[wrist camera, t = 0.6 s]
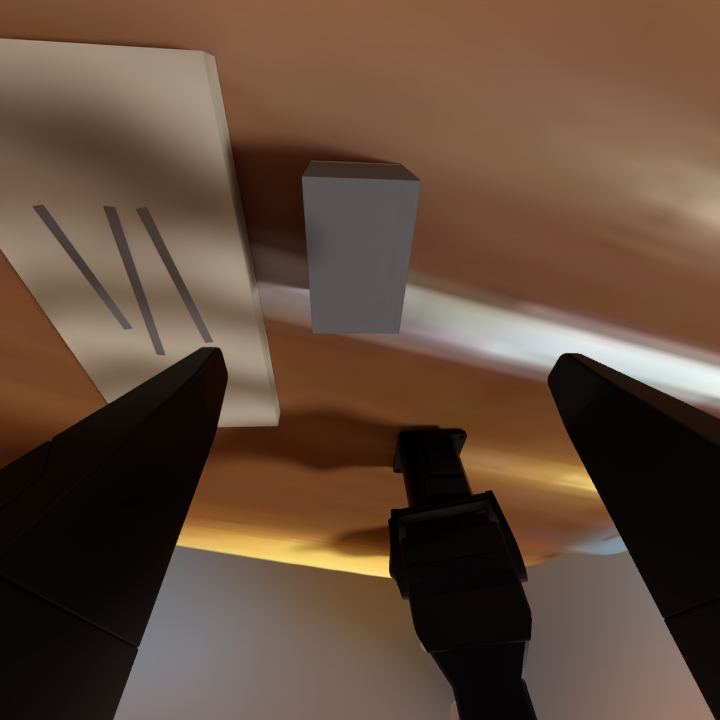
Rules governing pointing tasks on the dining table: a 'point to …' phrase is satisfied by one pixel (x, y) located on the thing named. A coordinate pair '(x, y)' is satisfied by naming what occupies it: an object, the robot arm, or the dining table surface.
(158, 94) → the board
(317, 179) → the block
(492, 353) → the dining table surface
